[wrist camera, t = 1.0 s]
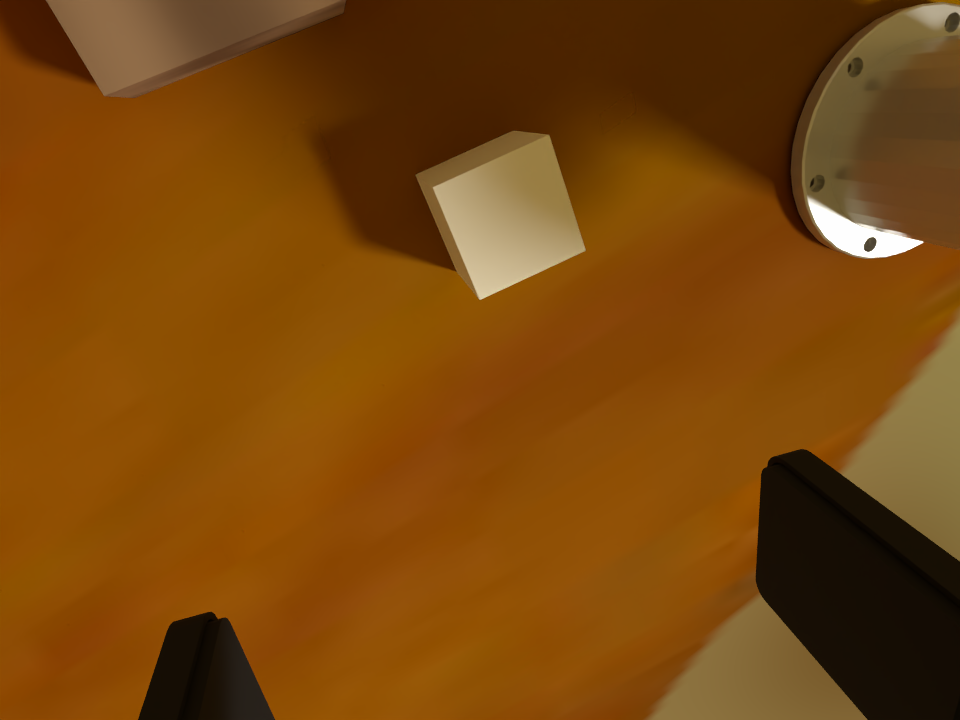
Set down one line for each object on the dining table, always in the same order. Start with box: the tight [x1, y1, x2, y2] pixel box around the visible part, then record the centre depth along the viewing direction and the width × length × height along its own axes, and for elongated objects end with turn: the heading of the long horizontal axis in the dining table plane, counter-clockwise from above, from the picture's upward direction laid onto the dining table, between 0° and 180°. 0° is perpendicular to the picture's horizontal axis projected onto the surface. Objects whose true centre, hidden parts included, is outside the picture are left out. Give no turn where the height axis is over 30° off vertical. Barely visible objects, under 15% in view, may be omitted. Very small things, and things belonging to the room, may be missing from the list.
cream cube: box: [416, 131, 586, 300], centre depth 26 cm, size 5×5×5 cm
